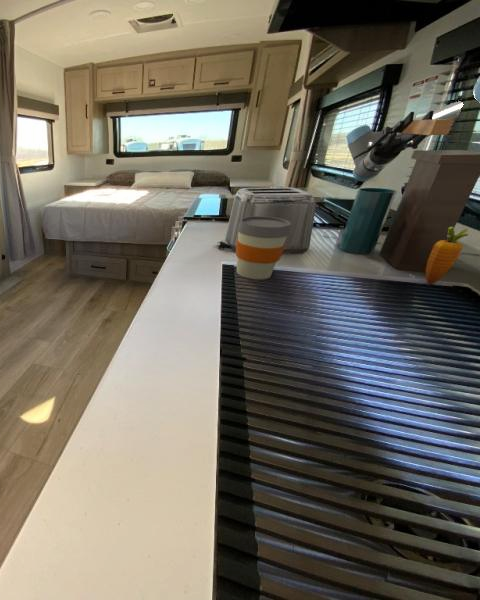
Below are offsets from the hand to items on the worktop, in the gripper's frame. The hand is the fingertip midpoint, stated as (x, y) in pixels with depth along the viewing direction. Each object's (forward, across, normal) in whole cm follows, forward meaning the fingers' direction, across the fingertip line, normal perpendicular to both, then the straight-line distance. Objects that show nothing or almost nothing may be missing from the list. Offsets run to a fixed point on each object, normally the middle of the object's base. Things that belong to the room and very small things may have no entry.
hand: (421, 116), depth 94 cm
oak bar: (0, 0, -5) cm, 5 cm away
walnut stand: (-6, -4, -41) cm, 42 cm away
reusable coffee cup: (+14, +37, -53) cm, 66 cm away
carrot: (+9, -4, -50) cm, 50 cm away
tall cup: (-13, +6, -37) cm, 40 cm away
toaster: (-8, +34, -40) cm, 53 cm away
